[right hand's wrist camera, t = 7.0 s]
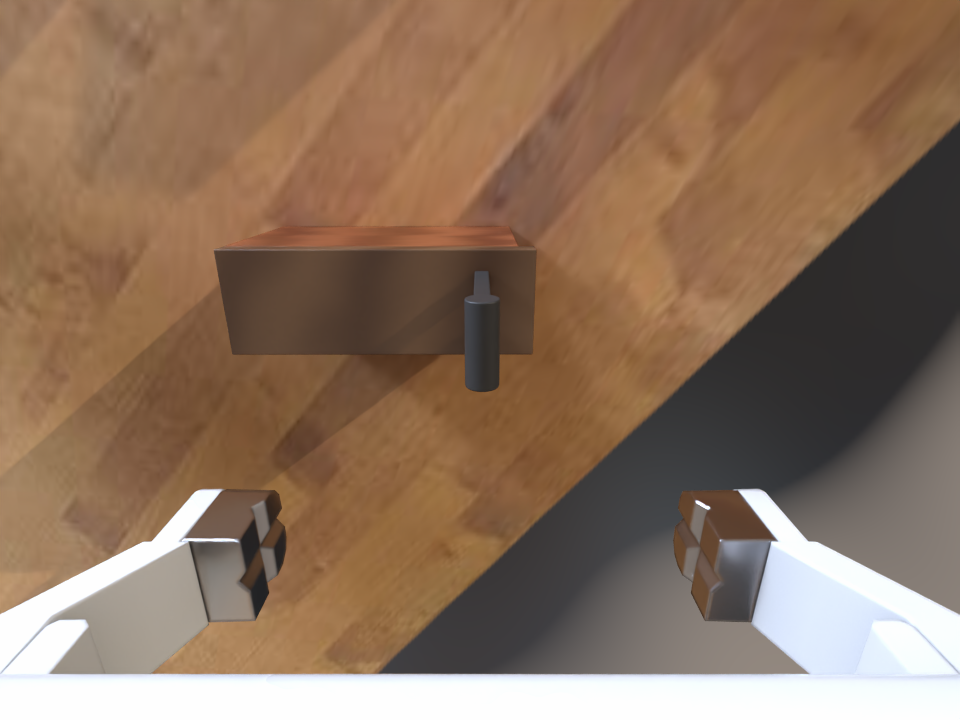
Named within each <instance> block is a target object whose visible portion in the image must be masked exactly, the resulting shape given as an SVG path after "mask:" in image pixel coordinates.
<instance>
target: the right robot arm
mask: <svg viewBox="0 0 960 720" xmlns="http://www.w3.org/2000/svg"><path fill="white" fill-rule="evenodd" d="M281 509H282V506H281V502H280V497H279V494H278V493H277V492H276V491H275V490H238V489H226V490H224V489H201V490H198V491H196V492H195V493H194V494H193V495H192V496H191V497H190V498H189V499H188V501H187V502H186V503H185V504H184V505H183V506H182V507H181V509H180V510H179V511H178V512H177V513H176V514H175V516H174V517H173V518H172V519H171V520H170V521H169V522H168V524H167V525H166V526H165V527H164V528H163V529H162V530H161V532H160V533H159V534H158V535H157V536H156V537H155V538H154V540H153V541H152V542H142V543H140V544H138V545H136V546H134V547H132V548H130V549H128V550H126V551H124V552H122V553H120V554H118V555H116V556H115V557H113V558H111V559H109V560H107V561H105V562H103V563H101V564H99V565H97V566H95V567H93V568H91V569H89V570H87V571H85V572H83V573H81V574H79V575H77V576H75V577H73V578H71V579H69V580H67V581H65V582H63V583H61V584H59V585H57V586H55V587H53V588H52V589H50V590H48V591H46V592H44V593H42V594H40V595H38V596H36V597H34V598H32V599H30V600H28V601H26V602H24V603H22V604H20V605H18V606H16V607H14V608H12V609H10V610H8V611H6V612H4V613H2V614H0V720H960V615H959V614H957V613H955V612H953V611H951V610H949V609H947V608H946V607H944V606H941V605H940V604H938V603H936V602H934V601H932V600H930V599H928V598H926V597H924V596H922V595H920V594H918V593H916V592H914V591H912V590H910V589H908V588H906V587H904V586H902V585H900V584H898V583H896V582H894V581H893V580H891V579H889V578H887V577H885V576H883V575H881V574H879V573H877V572H875V571H873V570H871V569H869V568H867V567H865V566H863V565H861V564H859V563H857V562H855V561H853V560H851V559H849V558H847V557H845V556H843V555H841V554H840V553H838V552H836V551H834V550H832V549H830V548H828V547H826V546H824V545H822V544H820V543H818V542H808V541H807V540H806V538H805V537H804V536H803V535H802V534H801V533H800V532H799V530H798V529H797V528H796V527H795V526H794V525H793V524H792V522H791V521H790V520H789V519H788V518H787V517H786V516H785V514H784V513H783V512H782V511H781V510H780V509H779V508H778V506H777V505H776V504H775V503H774V502H773V501H772V499H771V498H770V497H769V496H768V495H767V494H766V493H765V492H764V491H762V490H760V489H738V490H712V491H683V493H682V495H681V497H680V501H679V506H678V509H679V511H680V512H681V514H682V516H683V519H682V520H681V521H680V522H679V523H678V524H677V525H676V526H675V532H674V540H673V541H674V553H675V558H676V561H677V565H678V567H679V569H680V571H681V573H682V575H683V576H684V577H686V578H687V579H689V580H690V581H691V582H693V584H692V590H691V594H692V596H693V598H694V600H695V602H696V604H697V606H698V608H699V610H700V612H701V614H702V616H703V618H704V620H705V621H726V622H752V623H751V625H752V626H754V627H755V628H756V629H757V630H758V631H760V632H761V633H762V634H763V635H764V636H766V637H767V638H768V639H769V640H770V641H771V642H773V643H774V644H775V645H776V646H777V647H778V648H780V649H781V650H782V651H783V652H784V653H785V654H787V655H788V656H789V657H790V658H791V659H793V660H794V661H795V662H796V663H797V664H798V665H800V666H801V667H802V668H803V669H804V670H805V671H807V672H808V673H809V674H151V673H152V672H153V671H155V670H156V669H157V668H158V667H159V666H161V665H162V664H163V663H164V662H165V661H166V660H168V659H169V658H170V657H171V656H172V655H174V654H175V653H176V652H177V651H178V650H179V649H181V648H182V647H183V646H184V645H185V644H187V643H188V642H189V641H190V640H191V639H192V638H194V637H195V636H196V635H197V634H198V633H200V632H201V631H202V630H203V629H204V628H205V627H207V626H208V625H209V623H208V622H233V621H255V620H256V618H257V616H258V614H259V612H260V610H261V608H262V606H263V604H264V602H265V600H266V598H267V596H268V594H269V590H268V584H267V582H269V581H270V580H272V579H273V578H274V577H276V576H277V575H278V573H279V571H280V569H281V567H282V565H283V561H284V557H285V552H286V531H285V526H284V525H283V524H282V523H281V522H280V521H279V520H278V519H277V516H278V514H279V512H280V511H281Z"/></svg>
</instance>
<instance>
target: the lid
mask: <svg viewBox="0 0 960 720" xmlns="http://www.w3.org/2000/svg"><path fill="white" fill-rule="evenodd" d="M536 251H537V250H536V249H535V247H534V246H224V247H221V248H218V249H215V250H214V254H215V259H216V265H217V271H218V276H219V282H220V287H221V293H222V299H223V304H224V310H225V315H226V321H227V326H228V332H229V338H230V343H231V349H232V354H465V385H466V387H467V388H468V389H470V390H472V391H477V392H487V391H492V390H495V389H496V388H498V386H499V356H500V354H532V353H533V331H534V304H535V278H536Z"/></svg>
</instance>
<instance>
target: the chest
mask: <svg viewBox="0 0 960 720" xmlns="http://www.w3.org/2000/svg"><path fill="white" fill-rule="evenodd" d="M226 246H518V245H517V243H516V241H515V238H514V236H513V234H512V232H511V230H510V227H509V226H472V227H281V228H278V229H275V230H272V231H269V232H266V233H263V234H260V235H257V236H254V237H251V238H248V239H245V240H242V241H239V242H236V243H233V244H230V245H226Z"/></svg>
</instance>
